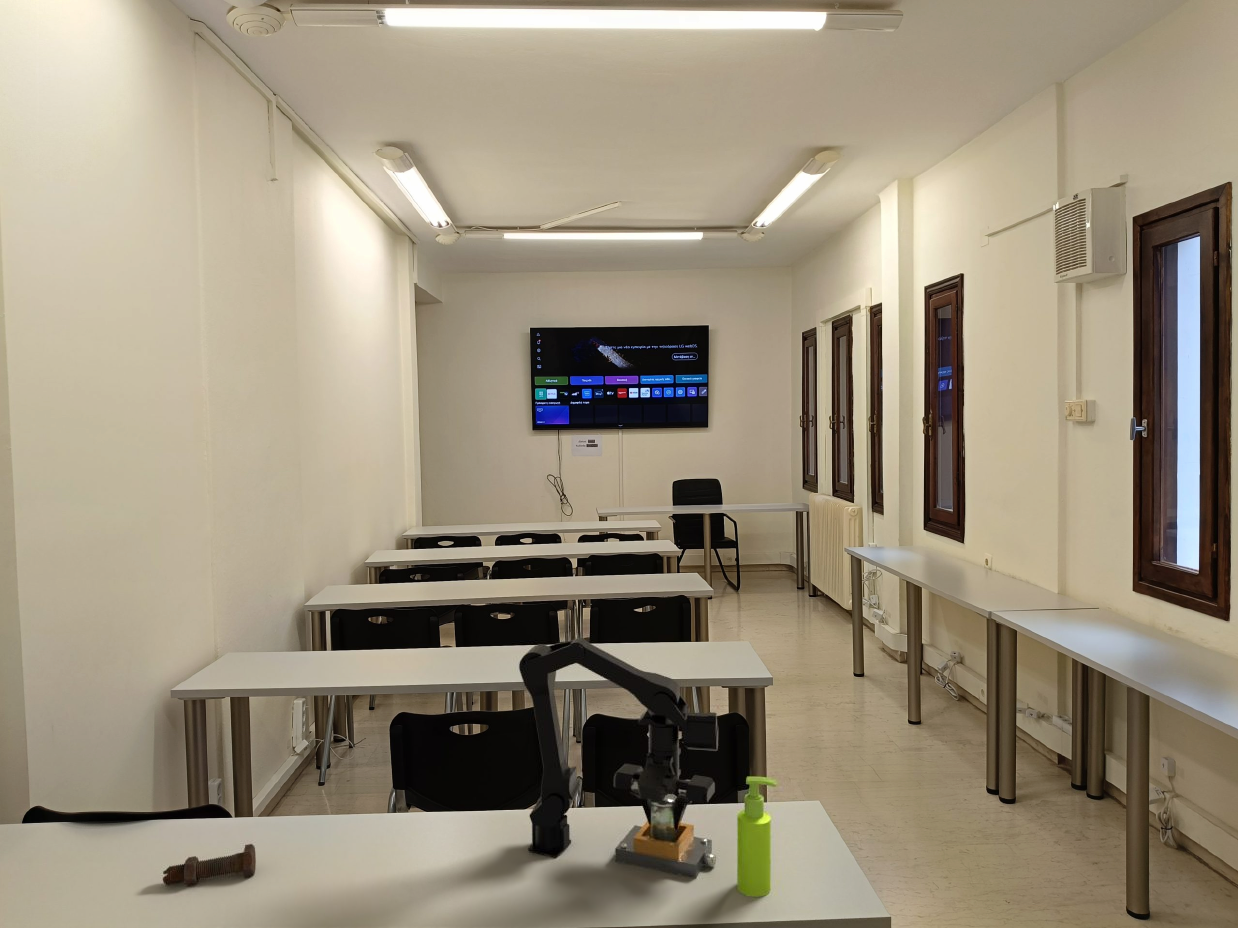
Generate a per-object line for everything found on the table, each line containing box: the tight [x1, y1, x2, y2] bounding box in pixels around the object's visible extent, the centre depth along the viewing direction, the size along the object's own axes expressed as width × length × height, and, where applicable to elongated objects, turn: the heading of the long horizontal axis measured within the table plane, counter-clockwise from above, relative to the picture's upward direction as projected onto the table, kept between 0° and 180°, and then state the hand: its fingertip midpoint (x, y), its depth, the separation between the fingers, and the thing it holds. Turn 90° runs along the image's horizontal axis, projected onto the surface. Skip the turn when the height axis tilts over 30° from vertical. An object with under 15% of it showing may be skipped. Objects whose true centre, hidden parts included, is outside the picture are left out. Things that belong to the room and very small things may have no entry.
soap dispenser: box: [736, 776, 778, 898], centre depth 151 cm, size 6×7×20 cm
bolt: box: [162, 843, 257, 887], centre depth 155 cm, size 6×5×15 cm
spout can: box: [650, 794, 678, 841], centre depth 161 cm, size 5×8×7 cm, turn 158°
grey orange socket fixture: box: [614, 820, 717, 879], centre depth 162 cm, size 18×10×5 cm, turn 67°
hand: (663, 826), depth 162 cm, fingers closed on spout can, 5 cm apart
